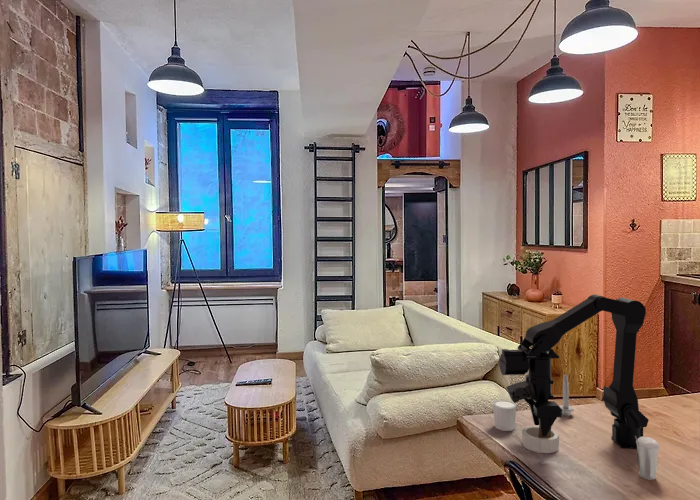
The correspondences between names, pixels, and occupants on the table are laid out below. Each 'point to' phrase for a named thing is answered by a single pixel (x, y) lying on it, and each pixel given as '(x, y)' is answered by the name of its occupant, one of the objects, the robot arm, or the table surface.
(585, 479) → the table surface
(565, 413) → the screw
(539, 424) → the brown wooden handle
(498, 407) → the white tapered cylinder
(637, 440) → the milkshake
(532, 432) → the white bowl
